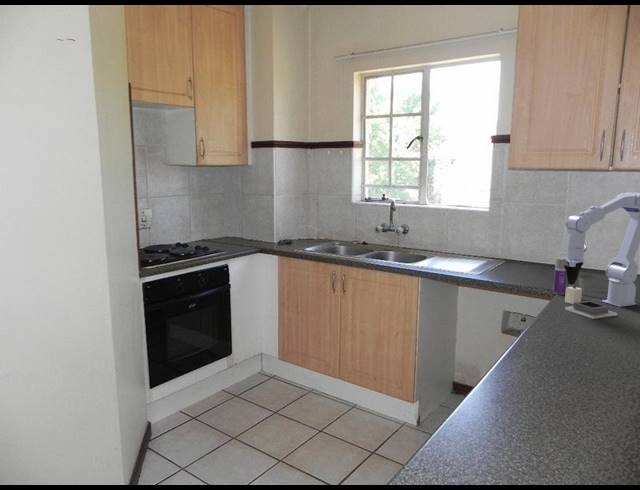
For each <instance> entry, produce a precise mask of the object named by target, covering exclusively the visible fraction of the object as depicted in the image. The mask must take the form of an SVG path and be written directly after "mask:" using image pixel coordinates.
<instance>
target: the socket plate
mask: <svg viewBox="0 0 640 490" xmlns="http://www.w3.org/2000/svg"><path fill="white" fill-rule="evenodd" d="M609 308H610V306H607V305H605V304H601V303H598V302H595V301H592V300H585V301H581V302H576V303H574V304H573V305H571V306H568V305H567V306H564V310H565V311H568V312H571V313H573V314H577V315H581V316H583V317H586V318H589V319H591V320H592V319H593V320H594V319H601V318H602V319H603V318H609V317H616V316H618V312H616V311H612V310H610V309H609Z"/></svg>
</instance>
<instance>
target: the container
mask: <svg viewBox="0 0 640 490" xmlns="http://www.w3.org/2000/svg"><path fill="white" fill-rule="evenodd" d="M567 262H568V261H566V260H563V257H556V258H555V266H554V275H553V276H554V277H553V287H552V293H553V294H555V295H565V294H566V287H567V273H566V270H565V268H564V265H568V264H567Z"/></svg>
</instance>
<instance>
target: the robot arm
mask: <svg viewBox="0 0 640 490" xmlns="http://www.w3.org/2000/svg"><path fill="white" fill-rule="evenodd" d="M619 209H623V210H624V211H625V212H626V213H627V214H628V215H629V217H630V221H629V223H628V225H627V229H626V231H625V235H624V237H623V240H622V244H621V247H620V249H619V252H618V255H617V256H615V257H613V258H611V260H610V262H609V264H608V265H607V266H606V268H605V276H607V277H608V280H607V281H609V282H608V291H607V299H602V300H601V302H602V303H606V304H608V305H613V306H616V307H619V308H620V307H629V306H636V305H637V303H636V302H635V300H636V295H637V294H636V291H637V287H636V285H635V283H634V282H635V281H636V279H637V277H638V269H639V265H638V263H636V260H635V258H636V255H637V253H638V249H639V246H640V192H635V191H632V192H631V191H624V192H622V193H618V194H617V195H616V197H614V198H613V199H611V200H609V201H607V202H606V203H604V204H603V205H601V206H596V205H595V206H594V205H591V206H590V207H589V208H588V209H587V210H585V211H583V212H582V211H580V212H579V213H578V214H577V215H575V214H574V215H570V216H569V217H568V219H567V220H566V222H565V227H566V229H567V234H568V235H567V245H566V246H567V247H566V256H565V257H564V256H563V257H562V258H563V260H566V261H568V262H567V264H568V265H564V268H565V270H566V273H567V278H566V281H567V283H568V285H576V284H575V283H576V281H578V277H579V274H580V271H581V269H582V267H583V265H584V256H585V255H584V252H585V244H586V243H585V242H586V232H588V231H589V230H590V229H591V226H593V225H594V224H596V223H599V222H600V221H602V220H604V219H605V216H606V215H608V214H609V213H612V212H614V211H617V210H619ZM635 304H636V305H635Z"/></svg>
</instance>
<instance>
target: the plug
mask: <svg viewBox="0 0 640 490" xmlns="http://www.w3.org/2000/svg"><path fill="white" fill-rule="evenodd" d="M582 294H583V289H582V288H580V287H577V285H576V284H572V286H566V288H565V294H564V295H565V296H564V302H565V303H567V304H570V305H574V303H576V302H582Z"/></svg>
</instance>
